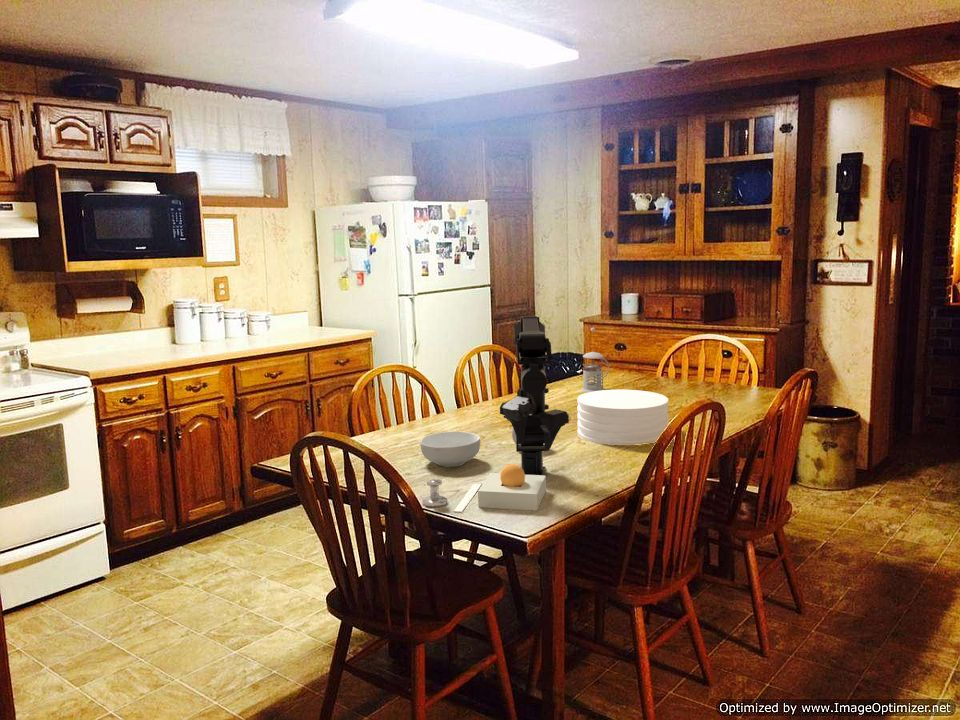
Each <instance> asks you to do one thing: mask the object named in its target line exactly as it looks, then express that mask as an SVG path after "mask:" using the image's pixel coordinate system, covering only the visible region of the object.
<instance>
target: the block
mask: <svg viewBox="0 0 960 720" xmlns="http://www.w3.org/2000/svg"><path fill="white" fill-rule="evenodd" d="M500 474H501V472H499V473H498V472H497V473H496V472H490V473H489V475H488V477H487V478H485V480H484V482H483V483H482V484H481V486H480V488H479V489H478V491H477V498H478V499H477V503H478V508H490V509H501V510H502V509H503V510H519V511H520V510H522V511H538V509H539V506H540V505H541V502H542V500H543V499H544V496H545V494H546V492H547V481H546V480H547V476H546V475H525V480H524V483H523V484H522V486H520V487H513V486H504V485H503V484H502V482H501V479H500Z"/></svg>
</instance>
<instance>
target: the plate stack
mask: <svg viewBox="0 0 960 720" xmlns="http://www.w3.org/2000/svg"><path fill="white" fill-rule="evenodd" d="M576 401H577V404H578V405H577V407H576V410H577V415H576V416H577V425H576V426H577V433H578V434H577V436H578V437H579V438H580V439H582V440H584V441H586V440H587V441H586V442H590V443H593V442H594V444H598V443H599V444H600V445H604V444H608V445H607V446H614V445H635V444H643V443H652V442H653V444H656V443H655V441H656V440H657V439H658V437H659V436H660V434H661V433H662V432H663V431H664V429H665V428H666V427H667V425H668V426H669V404H670V403H669V401H670V400H669V398H668V397H667V396H666V395H664V394H661V393H658V392H654V391H647V390H646V391H645V390H639V389H605V390H601V391H593V392H584V393H581V395H579V396H578V397H577V399H576Z"/></svg>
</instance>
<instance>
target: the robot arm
mask: <svg viewBox="0 0 960 720" xmlns="http://www.w3.org/2000/svg"><path fill="white" fill-rule="evenodd" d="M519 319H520V321H519V322H518V323H516V324H515V325H514V327H513V344H514V345H513V346H516V360H517V361H516V363H517V365H518V366H519V365H521V366H520V379H521V380H520V385H521V388H517V391H516V396H515V397H514V398H512V399H510V400H508V401H505V402H502V403H501V405H500V406H499V415H503V418H504V419H506V420H507V421H509V422H510V424H511V426H512V429H513V428H514V431H515V434H516V444H515V445H516V446H515V447H516V453H518V452H520V454H521V455H520V458H521V460H520V461H521V465H520V467H521V468H522V469H523V471H524V473H525V475H543V474H544V473H545V471H546V469H547V468H546V466H544V465H543V464H544V463H543V462H544V461H543V457H544V456H543V454H544V452H549V451H550V450H551V448H552V445H553V444H554V441H555V439H556V437H557V435H558V434H559V432H560V430H561V428H562V427H565V426H566V425H567V424H569V422H570V420H569V419H570V415H569V413H568V412H567V411H566V410H561V409H551V410H549V404H547V403H546V394H549V388H548V387H547V384H548V380H547V375H546V372H545V371H546V366H545V365H550V361H552V358H553V357H552V342H551V341H550V338H549V337H546V326H545V325H544V324H543V323H542V322H541V321H540V316H537V315H524V316H520V318H519ZM518 444H521V445H518ZM543 476H544V475H543Z"/></svg>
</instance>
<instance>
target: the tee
mask: <svg viewBox="0 0 960 720" xmlns="http://www.w3.org/2000/svg"><path fill="white" fill-rule="evenodd" d="M442 483H443V481H442V480H441V479H439V478H431V479H428V480H426V486H429V487H430V496H426V497H424V498H423V499H422V500H421V501H422V505H423V506H424V507H426V508H441V507H444V506H446V505H448V498H447V497H445V496H443V495H440V492H439V490H440V489H439V486H441V485H443V484H442Z"/></svg>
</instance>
